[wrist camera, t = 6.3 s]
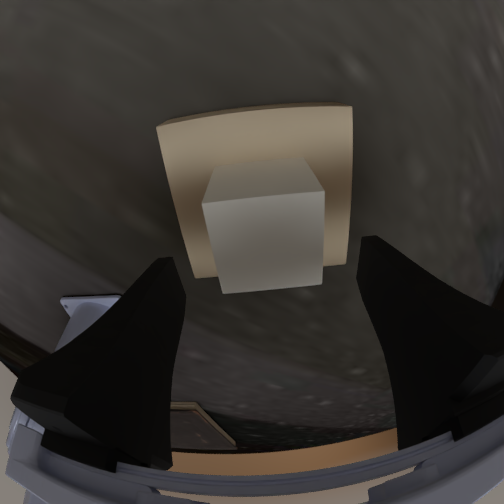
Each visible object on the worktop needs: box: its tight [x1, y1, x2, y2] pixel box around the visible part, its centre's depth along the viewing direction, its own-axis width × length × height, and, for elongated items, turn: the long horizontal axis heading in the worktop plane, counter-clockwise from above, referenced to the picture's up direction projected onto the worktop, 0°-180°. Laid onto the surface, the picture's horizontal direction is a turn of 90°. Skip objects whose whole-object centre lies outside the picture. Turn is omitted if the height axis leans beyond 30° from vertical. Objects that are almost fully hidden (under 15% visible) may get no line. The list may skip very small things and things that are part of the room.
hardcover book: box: [170, 402, 237, 450], centre depth 42 cm, size 16×23×2 cm
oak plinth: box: [156, 102, 353, 278], centre depth 16 cm, size 10×10×3 cm
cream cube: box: [202, 157, 325, 294], centre depth 13 cm, size 5×5×5 cm
